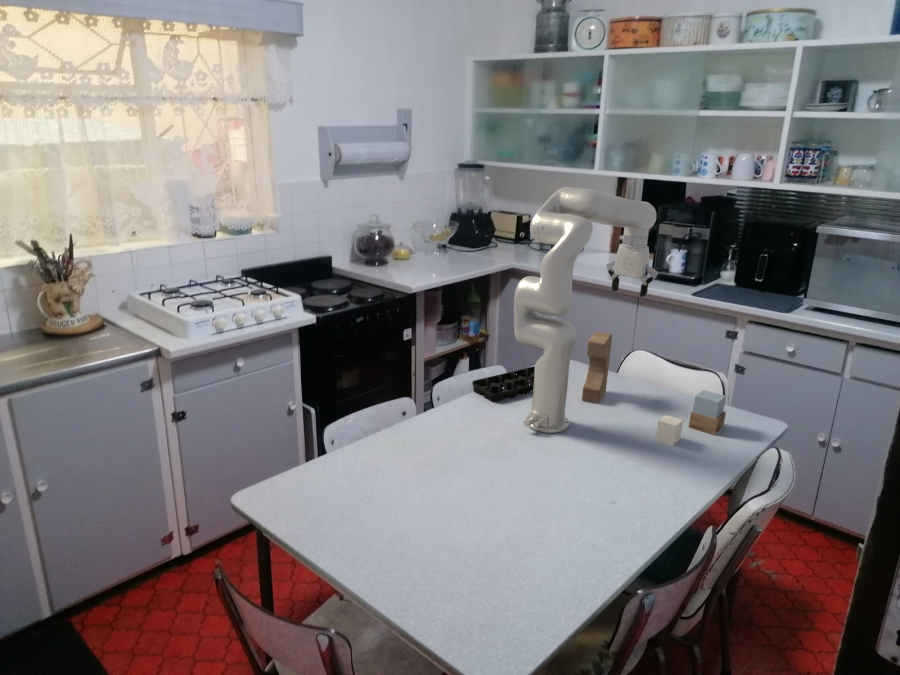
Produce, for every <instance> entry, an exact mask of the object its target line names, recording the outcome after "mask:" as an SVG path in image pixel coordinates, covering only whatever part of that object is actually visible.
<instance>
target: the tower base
mask: <svg viewBox="0 0 900 675" xmlns="http://www.w3.org/2000/svg"><path fill="white" fill-rule="evenodd" d="M726 414H727V411H726V410H725V411H724V410H723V412H722V413H721V414H720V415H719V416H718V417H717V418H716V419H715V418H711V417H708V416H704V415H701V414H698V413H694V412H693V410H692V411H690V417H689V423H688V428H690V429H693V430H696V431H699V432H703V433H704V434H705V433H706V434H709V435H712V436H716V435H717V434H718V433H719V432H720V431H721V430H722V429H723V428H724V427H725V426H724V425H725V421H726V420H725V419H726ZM722 427H723V428H722ZM720 429H721V430H720ZM719 430H720V431H719ZM717 432H718V433H717Z"/></svg>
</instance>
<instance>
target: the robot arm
mask: <svg viewBox="0 0 900 675" xmlns="http://www.w3.org/2000/svg"><path fill="white" fill-rule="evenodd" d="M656 221H657V211H656V208H655V207H654V206H653V205H652V204H651V203H649V202H648V201H641V200H634V199H629V198H626V197H621V196H619V195H618V196H617V195H613V194H610V193H606V192H601V191H599V190H596V189H591V188H581V187H580V188H579V187H570V186H564V187H561V188H559V189H558V190H556V191H555V192H554V193H553V194H551V196H550V197H549V198H548V199H547V200H546V201H545V203H543V205H542V206H541V207H540V208H539V209H538V210H537V212H536V213H535V214H534V216H533V217H532V220H531V222H530V226H529V231H530V235H531V237H532V238H533V239H534V241H536V242H538V243H542V244H547V245H552V247H551V249H550V250H548V251H547V253H545V255H544V257H543V259H542V261H541V265H540V277H539V276H534V275H528V276H525V277H523V278H521V280H519V282H518V284H517V285H516V287H515V292H514V295H513V296H514V298H513V299H514V300H513V322H514V323H513V332H514V338H515V339H516V341H517V342H518V343H520V344H521V345H524V346H526V347H531V348H533V349H538V350H539V351H542V352H543V354H542V356H540V357H539V358H538V360H537V361H536V363H535V366H534V367H535V375H534V387H533V391H532V402H531V411H530V413H529V414H527V415H526V416H525V419H524V420H523V425H524V426H525V427H529V428H530V429H532V430H534V431H537V432H541V433H547V434H549V433H550V434H557V433H561V432H564V431H566V430H568V428H569V427H570V420H569V418H568V417H566V415H565V414H566V404H567V395H568V384H569V373H570V365H571V357H572V352H573V349H574V347H575V342H576V340H577V339H576V337H577V330H576V328H575V326H574V325H573V324H572V323H570V322H569V321H566V320H564V319H562V318H556V317H563V316H566V315H567V314H568V313H569V312H570V309H571V307H572V306H571V305H572V300H573V299H572V297H573V296H572V295H573V275H574V274H573V273H574V266H575V263H576V261H577V259H578V257H579V255H580V253H582V251H583V249H584V248H585V247H586V245H587V244H589V241H590V239H591V237H592V234H593V231H594V230H593V228H594V227H593V223H596V224H600V225H606V226H612V227H621V228H624V230H623V234H622V235H621V234H620V235H619V240H621V243H620V244H619V246H618V249H617V252H616V256H615V260H614V261H613V262H609V263H607V264H606V268H607V270H608V274H609V276H610V278H611V279H612V280H611V291H612V292H617V291H619V286H620V278H619V277H620V276H622V277H625V278H630V279H631V278H632V279H638V280H639V279H640V281H641V283H642V284H641V286H640V290H639V297H640V298H643V297H645V296H646V295H648V291H649V290H648V289H649V284H651V283H652V282H653V281H654V280H655V279H656V278H657V276H658V275H659V272H658V271H657V270H656V269H654V267H652V266H650V249H649V246H648V240H649V239H648V238H649V233H650V230H651V229H652V227H653V226H655V223H656ZM613 267H614V268H613ZM649 273H650V274H651V275H650V277H648V275H649ZM539 313H540V314H539Z"/></svg>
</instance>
